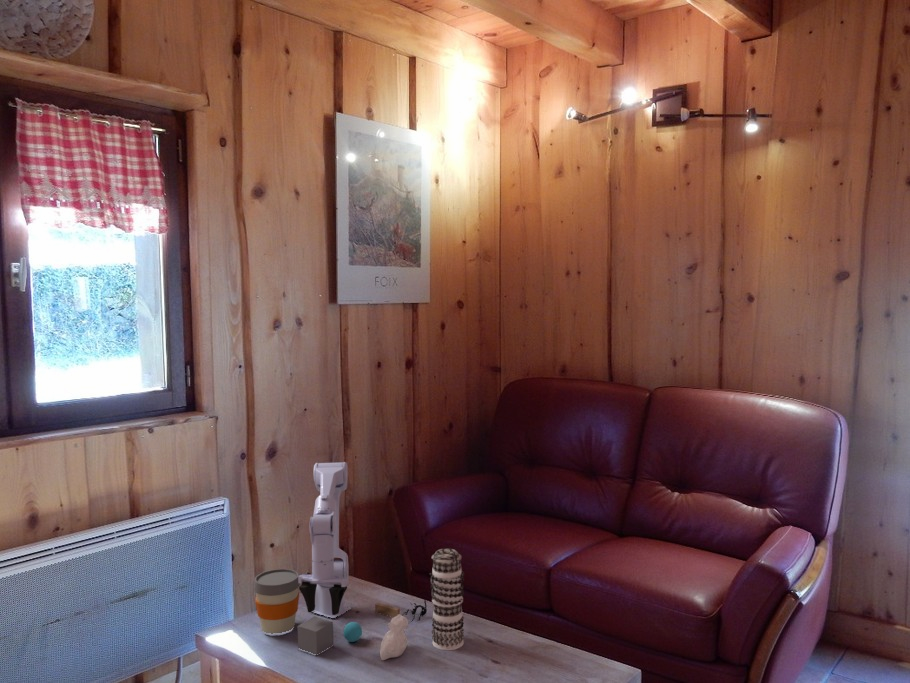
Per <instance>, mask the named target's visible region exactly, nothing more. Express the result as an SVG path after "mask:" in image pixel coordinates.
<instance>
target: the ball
mask: <svg viewBox="0 0 910 683" xmlns="http://www.w3.org/2000/svg"><path fill="white" fill-rule="evenodd" d="M362 634H363V629H362V626H361V625H360V624H359V623H358V622H355V621H351V622H350V621H349V623H347V624H346V625H345V626H344V628H343V634H342V635H343V637H344V639H345V640H346V641H348V642H350V643H354V642H357V641H359V639H360V638H361V636H362Z"/></svg>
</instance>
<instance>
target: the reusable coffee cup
mask: <svg viewBox="0 0 910 683" xmlns="http://www.w3.org/2000/svg"><path fill="white" fill-rule="evenodd" d="M298 576H300V575H299V573H298V572H297V571H296V570H294V569H290V568H277V569H276V568H275V569H268V570H265V571H262V572H261V573H259V574H257V575H256V576H255V577H254V583H253V591H254V592H255V598H254V599H255V600H254V601H255V608H256V613H257V617H259V622H260V628H261V629H260V630H261V632H262V631H264V632H266V633H271V634H273V633H282V632H286V631H289V630H291V629H292V628H293V627H294V625H295V624H296V614H297V612H298V609H299V602H300V601H299V599H300V593H299V586H301V585H300V584H301V583H298ZM294 628H295V627H294Z"/></svg>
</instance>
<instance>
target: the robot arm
mask: <svg viewBox="0 0 910 683" xmlns="http://www.w3.org/2000/svg"><path fill="white" fill-rule="evenodd" d="M348 470H349V466H348V463H347V462H346V461H343V462H315V464H313V474H312V476H313V483H314V485H315V488H316V491H317V492H320V494H319V495H318V496H317V497H316V499H315V501H314V502H315V503H314V508H313V514H312V516H310V519H309V534H310V535H309V536H310V544H311V574H301V575H299V576H298V583H300V584H301V585H299V587H298V591H300V592H301V594H302V596H303V599H304V602H305V606H306V609H307V612H308V613H311V612H313V611H315V612H314V613H317V614H320V615H319V616H321V615H324V616H327V617H326V618H328V617H331V618H335V619H337V618H338V617H340V616H342V615H344V614H345V613H346V611H347V612H349V611H350V610H352V608H351V607H350V606H347V605H345V593H346V591H347V589H348V586H349V566H350V565H349V556H348V553H347V552H345V551H344V550H342V549H341V548H340V498H341V495H342V493H343V492H344V491H346V490H347V488H348V477H349V471H348ZM348 610H349V611H348ZM314 613H313V614H314ZM317 614H316V615H317ZM341 614H342V615H341ZM324 616H323V617H324ZM337 616H338V617H337ZM336 617H337V618H336ZM331 618H330V619H331Z"/></svg>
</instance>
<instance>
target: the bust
mask: <svg viewBox="0 0 910 683" xmlns="http://www.w3.org/2000/svg"><path fill="white" fill-rule="evenodd" d="M387 626H388V628H389V630H388V631H387V632H386V633H385V634H384V636H383V639H382V641H381V643H380V649H379V656H380V660H381V661H385V660H389V659H391V658H398V657H401V656H402V655H403V653H404V651H405V650H406V648H407V646H408V645H407V644H408V640H407V634H406V632H405V630H407V629H408V626H409V622H408V619H407V617H406V616H404V615H403V616H402V614H401V613H400V614H398V615H397V616H396V617H391V620H390V622H389V623H387Z"/></svg>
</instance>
